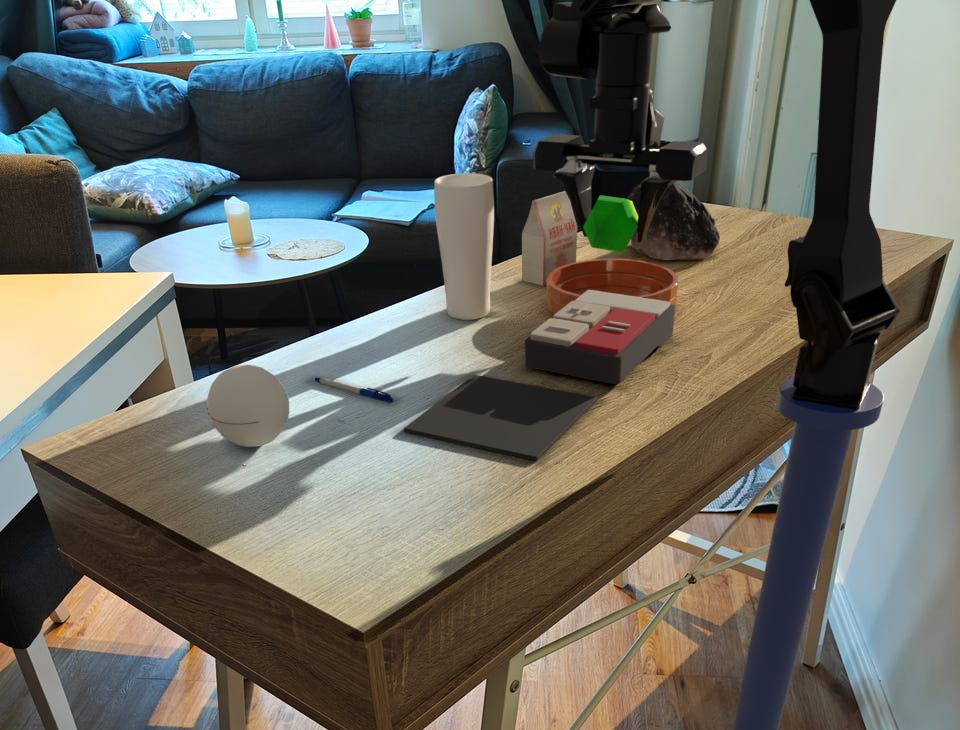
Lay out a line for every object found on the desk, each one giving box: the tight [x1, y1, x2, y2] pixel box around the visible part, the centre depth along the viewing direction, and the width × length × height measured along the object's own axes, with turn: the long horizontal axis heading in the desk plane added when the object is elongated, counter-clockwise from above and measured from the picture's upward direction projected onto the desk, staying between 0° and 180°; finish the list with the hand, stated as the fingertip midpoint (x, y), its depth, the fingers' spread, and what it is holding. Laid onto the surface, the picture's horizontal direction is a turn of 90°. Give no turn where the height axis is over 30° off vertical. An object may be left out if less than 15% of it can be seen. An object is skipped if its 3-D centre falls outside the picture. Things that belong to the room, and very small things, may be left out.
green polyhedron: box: [583, 195, 648, 253], centre depth 103 cm, size 7×6×9 cm
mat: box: [403, 374, 598, 462], centre depth 87 cm, size 14×14×1 cm
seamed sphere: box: [193, 363, 290, 448], centre depth 81 cm, size 10×7×7 cm
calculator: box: [524, 290, 676, 385], centre depth 96 cm, size 11×4×15 cm
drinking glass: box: [433, 172, 495, 321], centre depth 105 cm, size 7×7×15 cm
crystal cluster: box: [626, 181, 721, 261], centre depth 125 cm, size 13×14×10 cm
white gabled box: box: [521, 190, 578, 287], centre depth 117 cm, size 4×7×10 cm, turn 136°
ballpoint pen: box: [314, 377, 394, 403], centre depth 92 cm, size 10×1×1 cm, turn 57°
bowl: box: [545, 258, 679, 315], centre depth 109 cm, size 16×16×4 cm
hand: (613, 238), depth 105 cm, fingers closed on green polyhedron, 6 cm apart
